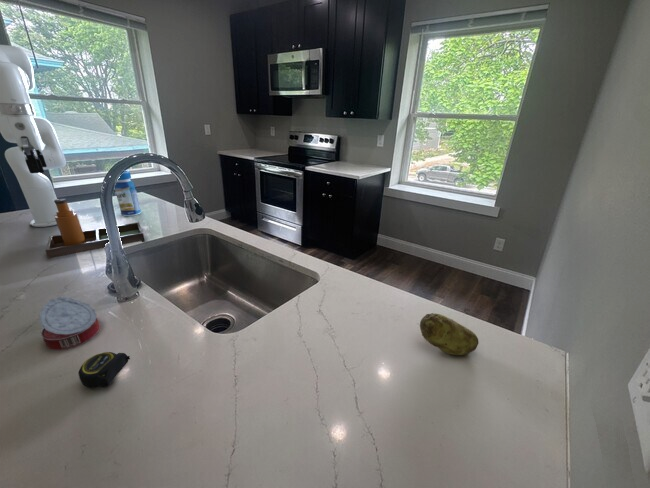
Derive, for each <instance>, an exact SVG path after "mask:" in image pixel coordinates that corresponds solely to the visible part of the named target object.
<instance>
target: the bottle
mask: <svg viewBox="0 0 650 488" xmlns="http://www.w3.org/2000/svg"><path fill="white" fill-rule="evenodd" d="M54 202H55V204H56V206H57V209H58V211H56V214H57V215H56V216H55V220H56V222H57V225H56V226H57V227H58V230H59V233H60V235H61V236H62V238H63V241H64V244H65V246H69V245H74V244H80V243H86V240H85V237H84V234H83V231H84V230H83V228H82V226H81V223H80V220H79V216H78V214H77V212H75V211H74V210H73V209H72V208H70V207H69V204H68V200H67V198H64V197H63V198H57V199H56V200H54Z"/></svg>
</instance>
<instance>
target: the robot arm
mask: <svg viewBox="0 0 650 488" xmlns="http://www.w3.org/2000/svg"><path fill="white" fill-rule="evenodd" d="M34 75H35V74H34V68H33V65H32V62H31V59H30V57H29V56H28V54H27V53H26V52H25V51H24V50H23V49H22V48H20V47H18V46H15V45H7V44H0V134H1V136H2V138H3V139H4V140H5V141H6V142H8V143H10V144H11V143H12V144H16V145H17V146H12V147H9V148H7V149H6V150H5V151H4V158H5V160H6V162H7V163H8V165H9V167H10V168H11V170H12V172H13V173H14V176H15V177H16V179H17V182H18V183H19V187H20V189H21V191H22V194H23V196H24V199H25V200H26V203H27V206H28V209H29V210H30V213H31V215H32V218H33V219H32V220H31V221H30V223H29V224H30V225H31V226H32V227H34V228H44V227H45V228H47V227H52V226H58V225H57V222H56V220H55V216H56V215H57V214H56V211H58V209H57V206H56V204H55V202H54V200H56V199H58V198H57V195H56V192H55V189H54V187H53V184H52V181H51V180H50V179H49V178H48V177H47V176H46V175H45V174H43V173H45V171H46V170H56V169H57V170H59V169H62V168H65V167H66V165H67V160H66V156H65V153H64V151H63V148H62V145H61V144H60V141H59V139H58V135H57V133H56V130H55V128H54V126H53V125H52V123H51V122H50V121H49V120H48V119H47V118H44V117H39V116H38V117H37V115H36V112H35V109H34V108H35V107H34V105H33V104H32V100H31V98H30V95H29V92H30V91H33V90H34V89H35V84H36V82H35V77H34Z"/></svg>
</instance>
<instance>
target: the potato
mask: <svg viewBox="0 0 650 488" xmlns="http://www.w3.org/2000/svg"><path fill="white" fill-rule="evenodd" d="M419 330H420V333H421V336H422V337H423V339H424V340H425V341H426V342H428V343H429V344H430V345H431V346H433V347H435V348H437V349H439V350H440V351H442V352H443V353H445V354H448V355H451V356H463V355H468V354H470V353H472V352H474V351H475V350H476V349H477V348H478V346H479V337H478V336H477V335H476V333H474V332H473V331H472V330H471V329H469V328H468V327H466V326H464V325H463V324H461V323H459V322H457V321H455V320H454V319H452V318H450V317H447V316H446V315H444V314H439V313H433V312H432V313H427V314H425V315H424V316H422V318H421V320H420V323H419Z"/></svg>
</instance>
